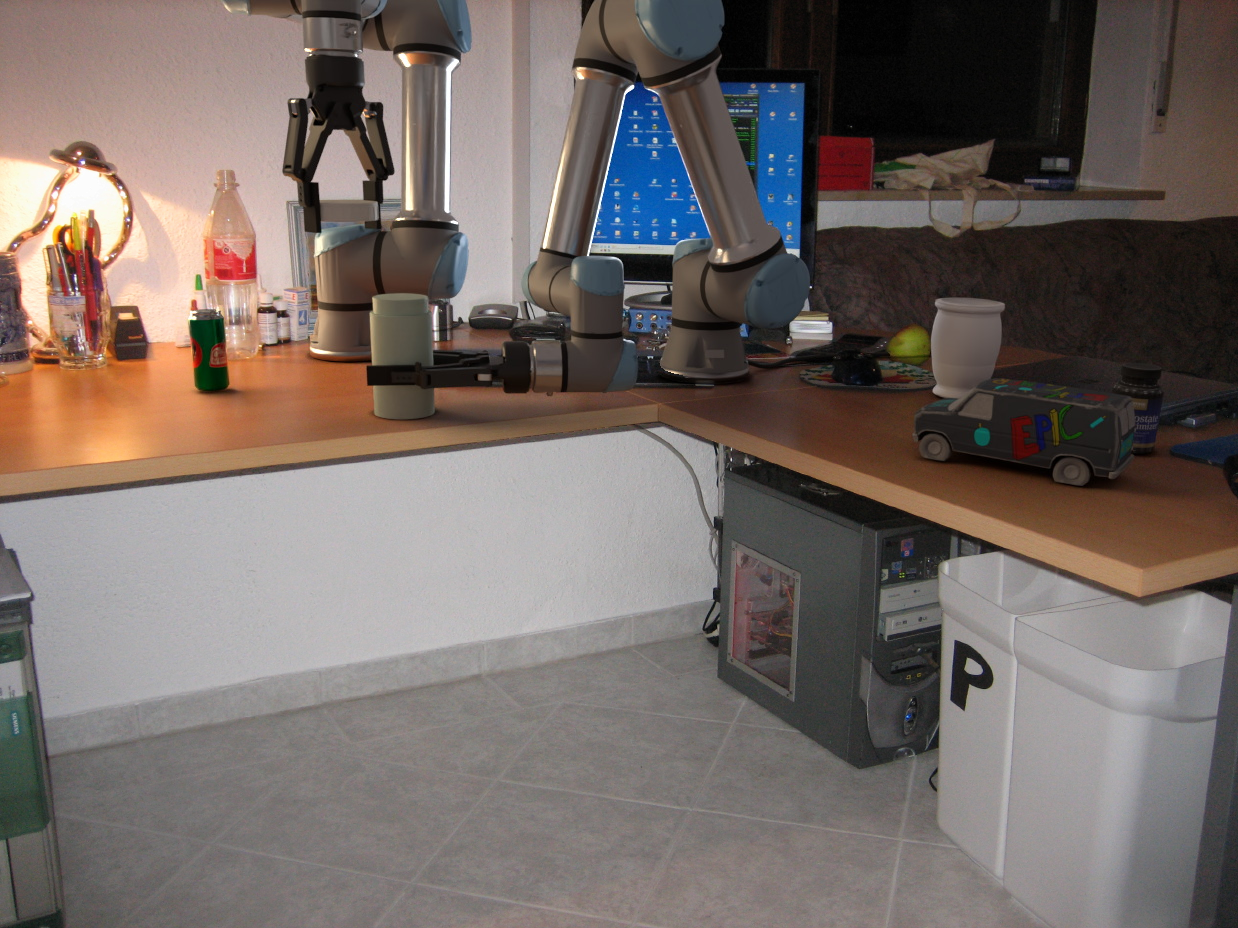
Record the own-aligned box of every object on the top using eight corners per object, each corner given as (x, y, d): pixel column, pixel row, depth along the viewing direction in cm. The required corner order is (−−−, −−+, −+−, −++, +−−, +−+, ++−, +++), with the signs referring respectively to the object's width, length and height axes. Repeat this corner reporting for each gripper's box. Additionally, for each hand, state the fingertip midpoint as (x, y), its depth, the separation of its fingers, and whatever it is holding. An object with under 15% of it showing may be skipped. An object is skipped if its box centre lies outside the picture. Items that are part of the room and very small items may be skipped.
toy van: (935, 438, 144) (942, 365, 141) (1133, 472, 130) (1146, 392, 127) (905, 455, 135) (913, 378, 133) (1114, 493, 122) (1127, 408, 119)
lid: (353, 216, 153) (352, 199, 152) (392, 220, 147) (392, 202, 146) (294, 218, 146) (293, 200, 145) (333, 223, 140) (332, 204, 139)
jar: (912, 390, 173) (921, 298, 169) (962, 386, 177) (972, 295, 173) (956, 405, 163) (966, 307, 159) (1008, 400, 167) (1020, 304, 163)
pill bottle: (1117, 454, 138) (1130, 370, 135) (1094, 442, 144) (1106, 361, 140) (1163, 454, 138) (1177, 370, 135) (1139, 442, 144) (1152, 361, 141)
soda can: (218, 393, 162) (211, 314, 158) (188, 391, 163) (180, 312, 159) (236, 386, 166) (230, 309, 163) (207, 384, 167) (200, 308, 164)
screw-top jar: (429, 420, 149) (425, 301, 144) (368, 419, 149) (362, 300, 144) (439, 406, 157) (435, 293, 152) (381, 405, 157) (376, 292, 152)
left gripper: (278, 48, 130) (291, 236, 136) (417, 60, 146) (423, 228, 153) (243, 50, 134) (257, 232, 141) (382, 62, 151) (389, 225, 157)
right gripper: (535, 409, 145) (365, 412, 141) (524, 377, 165) (375, 379, 162) (535, 355, 143) (362, 356, 139) (524, 329, 163) (373, 330, 160)
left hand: (343, 230), depth 147 cm, fingers closed on lid, 9 cm apart
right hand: (369, 369), depth 151 cm, fingers closed on screw-top jar, 8 cm apart
